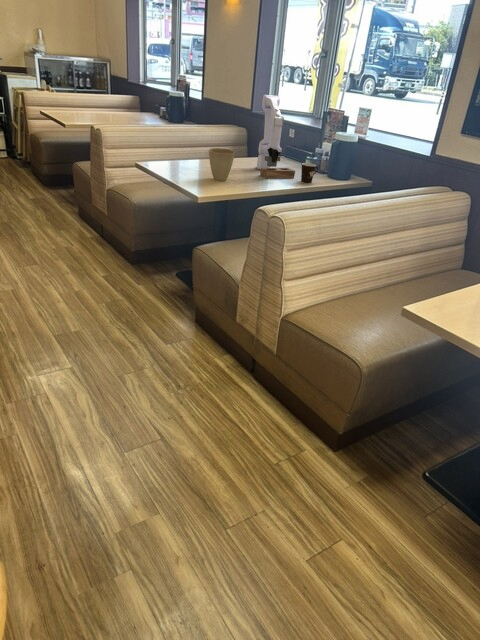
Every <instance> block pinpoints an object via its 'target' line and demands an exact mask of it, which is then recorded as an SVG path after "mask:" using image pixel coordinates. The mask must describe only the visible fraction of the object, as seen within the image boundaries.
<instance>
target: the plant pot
mask: <svg viewBox="0 0 480 640" xmlns="http://www.w3.org/2000/svg"><path fill="white" fill-rule="evenodd" d="M235 154H236V151H235V150H232V149H228V148H219V147H217V148H216V147H215V148H209V149H208V158H209V165H210V171H211V175H212V178H213V180H215V181H219V182H224V181H227V179H228V177H229V174H230V173H231V169H232V167H233V163H234V158H235V156H236V155H235Z"/></svg>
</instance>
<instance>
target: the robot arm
mask: <svg viewBox="0 0 480 640" xmlns="http://www.w3.org/2000/svg"><path fill="white" fill-rule="evenodd" d="M280 99H281V97H280V95H270V94H264V95H263V97H262V104H261V107H262V108H261V109H262V110H263V111H264V130H263V131H264V132H263V139H262V140H260V141H259V143H258V157H257V161H256V166H255V168H256V169H258V170H260V171H261V168H271V167H269V166H267V161H265V156H272V162H273V163H276V161H277V158H278V156H280V154H281V153H282V150H283V148H282V147H281V146H280V143H281V139H282V138H281V136H282V130H283V127H284V124H285V119H284V116H282V114H281V110H280V109H279V105H280ZM277 162H278V161H277Z"/></svg>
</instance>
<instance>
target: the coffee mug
mask: <svg viewBox="0 0 480 640" xmlns="http://www.w3.org/2000/svg"><path fill="white" fill-rule="evenodd" d="M318 169H319V168H318V166H317V165H316V164H314V163H309V162H303V163H301V175H300V176H301V178H300V181H301V182H302V183H308V184H310V183H313V179H314V175H315V174H316V173H317V172H318Z"/></svg>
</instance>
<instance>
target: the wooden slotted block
mask: <svg viewBox="0 0 480 640" xmlns="http://www.w3.org/2000/svg"><path fill="white" fill-rule="evenodd" d="M259 175H260V176H261V177H263V178H264V179H294V178H295V175H296V170H295V169H292V168H291V167H270V168H261V170H260V173H259Z"/></svg>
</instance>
